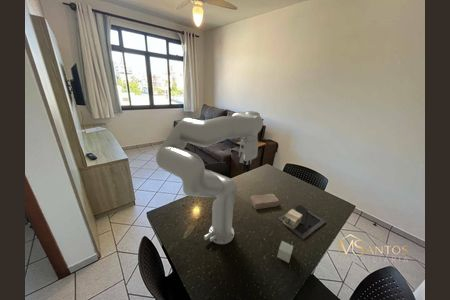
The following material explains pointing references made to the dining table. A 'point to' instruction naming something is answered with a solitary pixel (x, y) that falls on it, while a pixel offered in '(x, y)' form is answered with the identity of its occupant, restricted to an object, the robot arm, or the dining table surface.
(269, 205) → the brick
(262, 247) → the dining table surface
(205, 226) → the dining table surface
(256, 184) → the dining table surface
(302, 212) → the picture frame
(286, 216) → the maple block
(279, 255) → the sage block
